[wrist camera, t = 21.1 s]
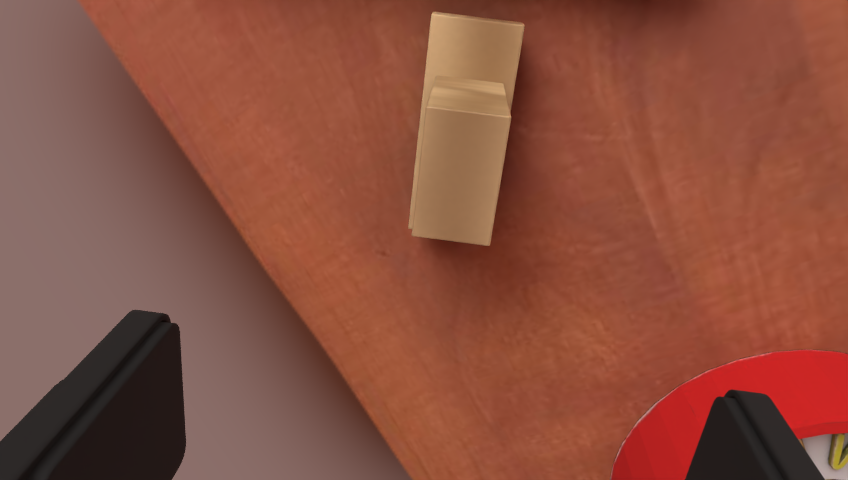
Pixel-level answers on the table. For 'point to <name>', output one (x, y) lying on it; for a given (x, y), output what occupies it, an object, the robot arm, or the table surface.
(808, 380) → the toy clock
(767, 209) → the table surface
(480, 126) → the brush
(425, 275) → the table surface
